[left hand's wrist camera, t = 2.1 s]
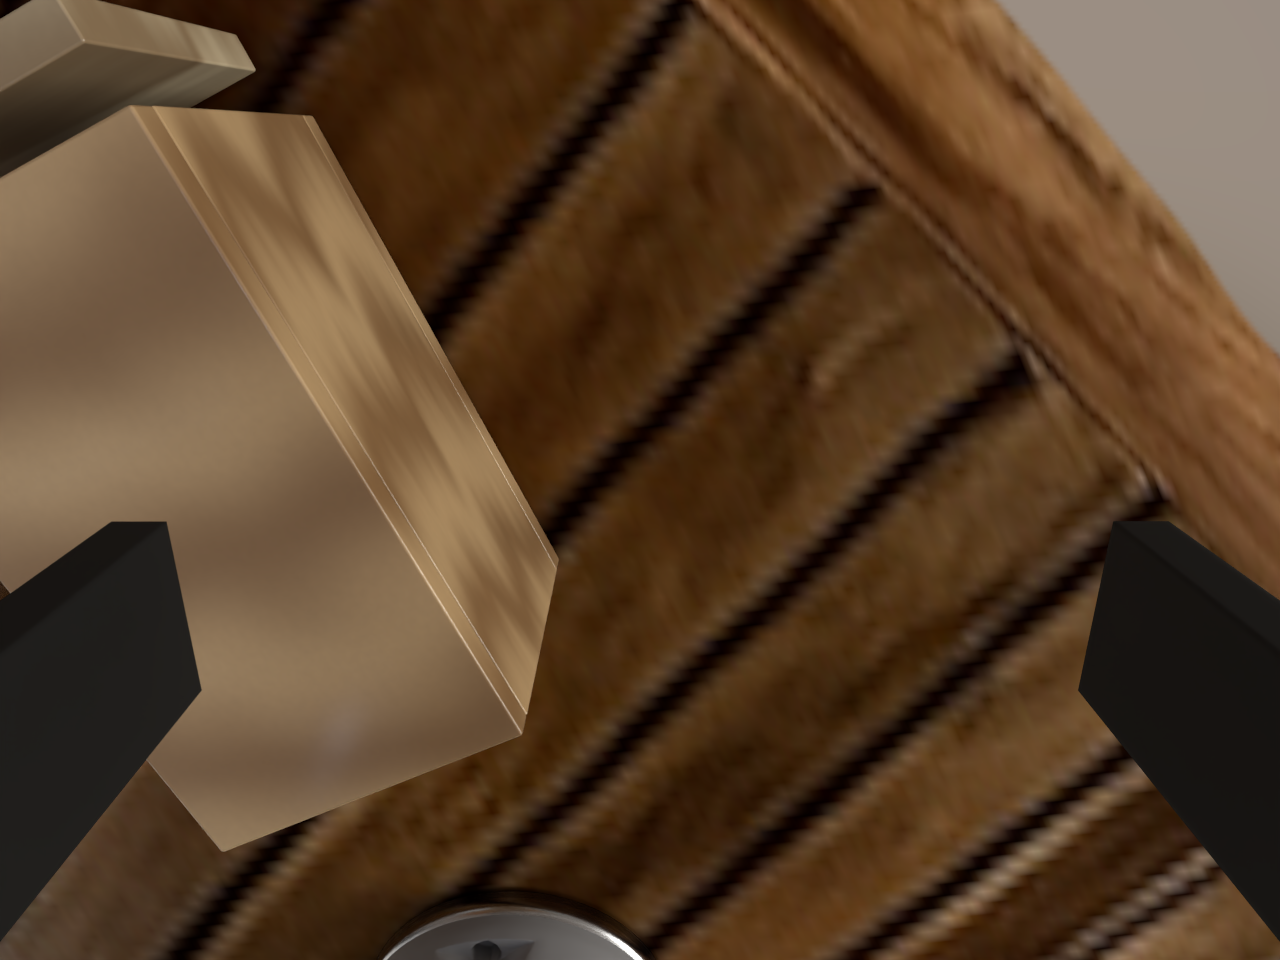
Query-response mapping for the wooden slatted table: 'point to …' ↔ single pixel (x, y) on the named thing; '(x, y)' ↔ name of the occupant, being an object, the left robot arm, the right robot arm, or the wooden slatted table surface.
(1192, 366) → the wooden slatted table surface
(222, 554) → the cabinet
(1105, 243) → the wooden slatted table surface
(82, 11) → the drawer
